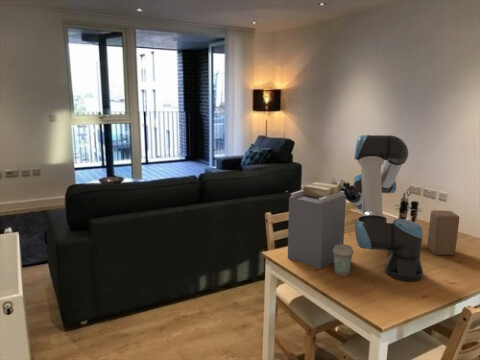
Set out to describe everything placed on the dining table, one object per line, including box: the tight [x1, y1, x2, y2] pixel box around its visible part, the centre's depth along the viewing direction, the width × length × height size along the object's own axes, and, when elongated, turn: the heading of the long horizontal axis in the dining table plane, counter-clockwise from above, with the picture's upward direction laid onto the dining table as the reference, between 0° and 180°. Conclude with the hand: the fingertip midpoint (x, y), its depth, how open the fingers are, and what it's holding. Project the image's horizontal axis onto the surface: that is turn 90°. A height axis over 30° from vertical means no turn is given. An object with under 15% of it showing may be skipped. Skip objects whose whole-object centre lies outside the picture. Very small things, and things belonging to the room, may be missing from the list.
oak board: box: [302, 180, 349, 198], centre depth 183 cm, size 28×12×4 cm, turn 136°
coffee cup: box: [333, 243, 354, 277], centre depth 164 cm, size 9×8×12 cm
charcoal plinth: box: [287, 189, 347, 270], centre depth 179 cm, size 20×18×32 cm
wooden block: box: [426, 209, 460, 256], centre depth 186 cm, size 10×10×20 cm
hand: (335, 181), depth 186 cm, fingers open, 4 cm apart
